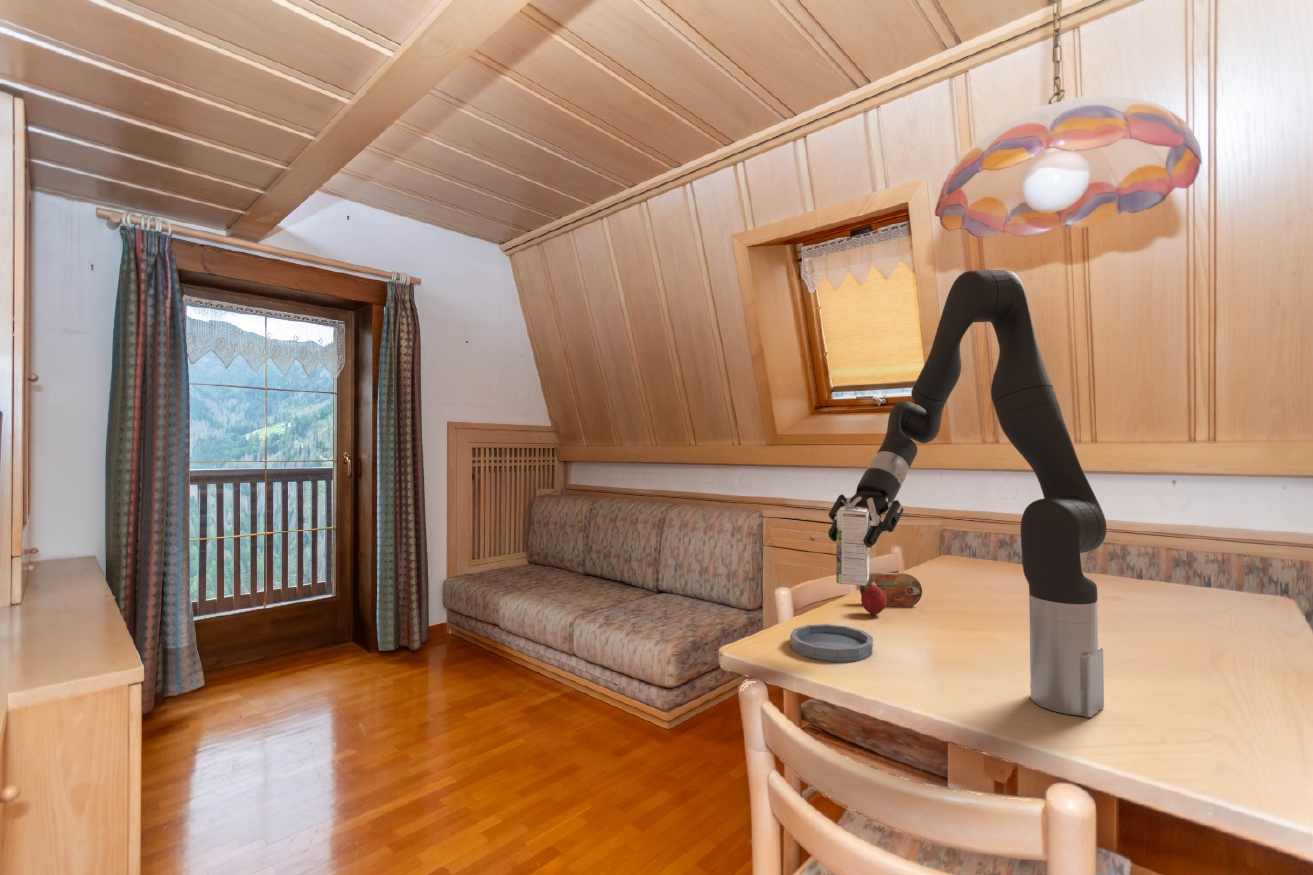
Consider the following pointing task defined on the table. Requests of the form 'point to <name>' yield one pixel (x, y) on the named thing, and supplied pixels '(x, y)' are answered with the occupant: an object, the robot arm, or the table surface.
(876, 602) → the onion
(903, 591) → the tin
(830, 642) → the dish
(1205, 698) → the table surface
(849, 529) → the juice carton
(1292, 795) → the table surface
